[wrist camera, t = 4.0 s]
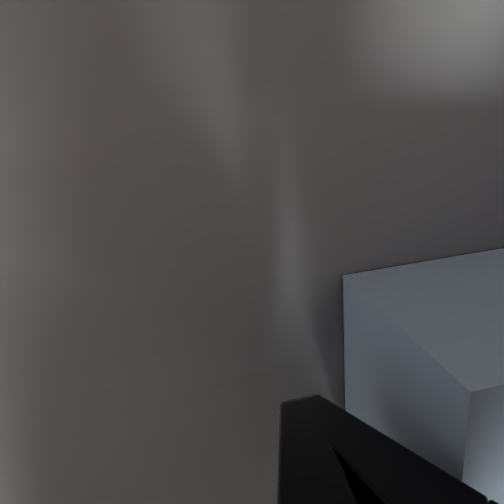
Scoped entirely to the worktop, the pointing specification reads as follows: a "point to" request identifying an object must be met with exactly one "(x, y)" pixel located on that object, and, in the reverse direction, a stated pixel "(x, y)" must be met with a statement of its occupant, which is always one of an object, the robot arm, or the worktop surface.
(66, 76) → the worktop surface
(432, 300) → the t block
